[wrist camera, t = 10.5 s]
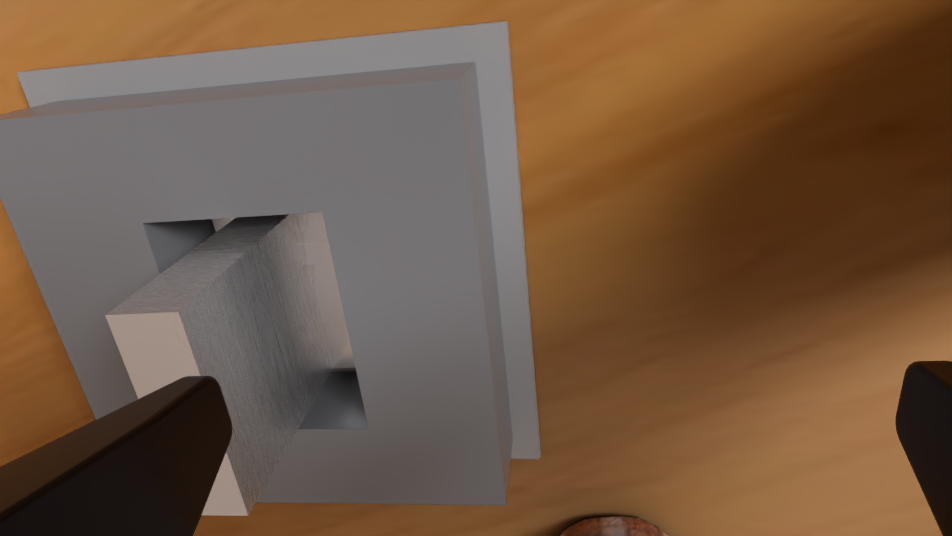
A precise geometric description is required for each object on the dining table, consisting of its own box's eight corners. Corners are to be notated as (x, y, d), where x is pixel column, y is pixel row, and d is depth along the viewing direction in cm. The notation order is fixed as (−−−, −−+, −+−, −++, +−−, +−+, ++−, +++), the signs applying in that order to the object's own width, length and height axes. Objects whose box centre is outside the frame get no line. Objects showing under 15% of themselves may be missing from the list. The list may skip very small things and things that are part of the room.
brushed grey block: (339, 194, 21) (224, 310, 14) (371, 349, 23) (288, 515, 16) (228, 203, 21) (61, 316, 14) (270, 352, 24) (146, 514, 17)
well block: (508, 20, 19) (495, 31, 15) (540, 448, 25) (538, 528, 21) (30, 70, 21) (-80, 89, 17) (173, 449, 27) (115, 520, 24)
